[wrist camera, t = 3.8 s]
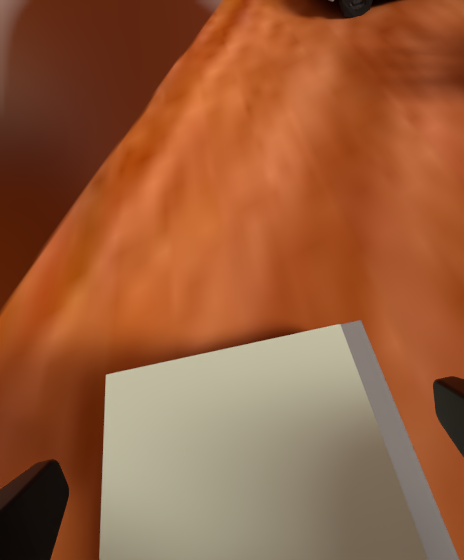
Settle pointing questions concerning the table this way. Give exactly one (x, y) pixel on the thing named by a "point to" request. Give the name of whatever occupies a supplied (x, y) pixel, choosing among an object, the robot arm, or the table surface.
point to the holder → (399, 447)
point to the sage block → (250, 459)
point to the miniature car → (354, 7)
